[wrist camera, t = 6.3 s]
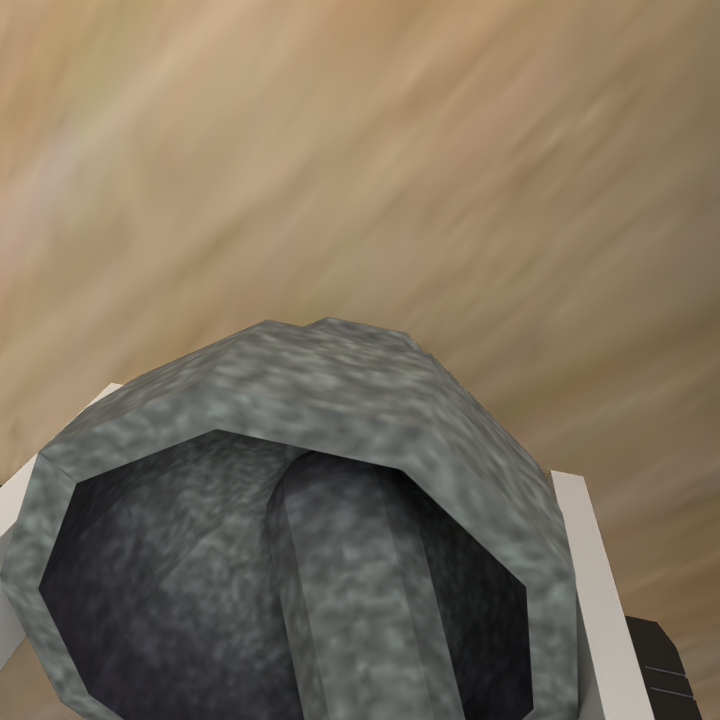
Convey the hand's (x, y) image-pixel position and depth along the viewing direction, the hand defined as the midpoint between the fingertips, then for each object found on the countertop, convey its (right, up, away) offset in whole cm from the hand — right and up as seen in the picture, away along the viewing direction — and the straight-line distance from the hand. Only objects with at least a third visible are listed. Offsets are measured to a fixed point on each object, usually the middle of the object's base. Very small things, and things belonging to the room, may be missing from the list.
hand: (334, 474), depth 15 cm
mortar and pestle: (+1, +1, +1) cm, 2 cm away
